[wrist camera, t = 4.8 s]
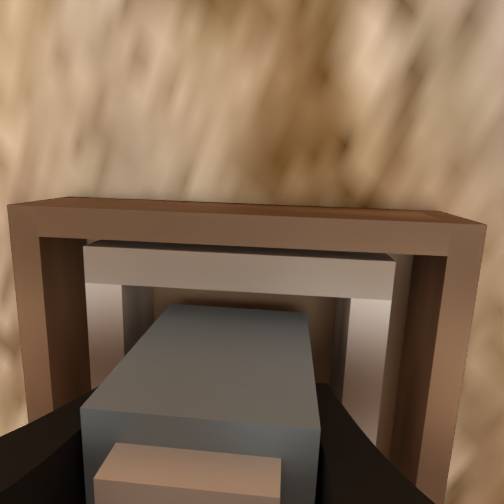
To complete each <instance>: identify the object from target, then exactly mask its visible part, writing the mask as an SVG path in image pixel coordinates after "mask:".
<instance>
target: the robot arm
mask: <svg viewBox="0 0 504 504" xmlns="http://www.w3.org/2000/svg"><path fill="white" fill-rule="evenodd" d="M315 386H316V394H317V402H318V411H319V419H320V427H321V432H320V445H319V457H318V469H317V481H316V494H315V504H435V503H434V502H433V501H432V500H431V499H429V498H428V497H427V496H426V495H425V494H424V493H422V492H421V491H420V490H419V489H418V488H417V487H416V486H415V485H414V484H413V483H412V482H410V481H409V480H408V479H407V478H406V477H405V476H404V475H403V474H402V473H401V472H400V471H399V470H398V469H397V468H396V467H395V466H394V465H393V464H391V462H390V461H389V460H388V459H387V458H386V457H385V456H384V455H383V454H382V453H381V452H380V451H379V450H378V448H377V447H376V446H375V445H374V444H373V443H372V442H371V440H370V439H369V438H368V437H367V436H366V434H365V433H364V432H363V431H362V429H361V428H360V427H359V426H358V424H357V423H356V422H355V421H354V419H353V418H352V417H351V415H350V414H349V413H348V411H347V410H346V409H345V407H344V406H343V404H342V403H341V402H340V400H339V399H338V397H337V396H336V394H335V393H334V391H333V390H332V388H331V387H330V386H329V385H328V384H327V383H315ZM98 387H99V386H97V387H96V388H94V389H92V390H90V391H89V392H87V393H85V394H83V395H82V396H80V397H78V398H76V399H75V400H73V401H71V402H69V403H67V404H66V405H64V406H62V407H60V408H58V409H56V410H54V411H52V412H50V413H48V414H46V415H44V416H42V417H40V418H39V419H37V420H35V421H33V422H31V423H29V424H27V425H25V426H23V427H21V428H19V429H16V430H14V431H12V432H10V433H8V434H5V435H3V436H1V437H0V504H86V494H85V478H84V462H83V447H82V431H81V415H80V407H81V406H82V405H83V404H84V403H85V402H86V400H87V399H88V398H89V397H90V396H91V395H92V394H93V392H94V391H95V390H96V389H97V388H98Z"/></svg>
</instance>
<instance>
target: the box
mask: <svg viewBox="0 0 504 504" xmlns="http://www.w3.org/2000/svg"><path fill="white" fill-rule="evenodd" d="M7 210H8V220H9V230H10V240H11V250H12V260H13V270H14V280H15V291H16V301H17V311H18V321H19V331H20V341H21V351H22V361H23V372H24V382H25V392H26V402H27V412H28V422H29V423H31V422H33V421H35V420H37V419H39V418H40V417H42V416H44V415H46V414H48V413H50V412H52V411H54V410H56V409H58V408H60V407H62V406H64V405H66V404H67V403H69V402H71V401H73V400H75V399H76V398H78V397H80V396H82V395H83V394H85V393H87V392H89V391H90V390H92V389H94V388H96V387H97V386H99V385H100V384H101V383H102V382H103V381H104V380H105V379H106V377H107V376H108V375H109V374H110V373H111V372H112V371H113V369H114V368H115V367H116V366H117V365H118V364H119V362H120V361H121V360H122V359H123V358H124V357H125V356H126V354H127V353H128V352H129V351H130V350H131V349H132V347H133V346H134V345H135V344H136V343H137V342H138V341H139V339H140V338H141V337H142V336H143V335H144V334H145V332H146V331H147V330H148V329H149V328H150V327H151V326H152V324H153V323H154V322H155V321H156V320H157V319H158V317H159V316H160V315H161V314H162V313H163V312H164V311H165V309H166V308H167V307H168V306H169V305H170V304H181V305H197V306H212V307H227V308H242V309H257V310H273V311H288V312H303V313H307V319H308V328H309V336H310V344H311V353H312V361H313V369H314V377H315V383H327V384H328V385H329V386H330V387H331V388H332V390H333V391H334V393H335V394H336V396H337V397H338V399H339V400H340V402H341V403H342V404H343V406H344V407H345V409H346V410H347V411H348V413H349V414H350V415H351V417H352V418H353V419H354V421H355V422H356V423H357V424H358V426H359V427H360V428H361V429H362V431H363V432H364V433H365V434H366V436H367V437H368V438H369V439H370V440H371V442H372V443H373V444H374V445H375V446H376V447H377V448H378V450H379V451H380V452H381V453H382V454H383V455H384V456H385V457H386V458H387V459H388V460H389V461H390V462H391V464H393V465H394V466H395V467H396V468H397V469H398V470H399V471H400V472H401V473H402V474H403V475H404V476H405V477H406V478H407V479H408V480H409V481H410V482H412V483H413V484H414V485H415V486H416V487H417V488H418V489H419V490H420V491H421V492H422V493H424V494H425V495H426V496H427V497H428V498H429V499H431V500H432V501H433V502H434V503H435V504H444V497H445V491H446V485H447V478H448V472H449V465H450V459H451V453H452V446H453V440H454V434H455V427H456V421H457V414H458V408H459V402H460V395H461V389H462V383H463V376H464V370H465V363H466V357H467V351H468V344H469V338H470V332H471V325H472V319H473V313H474V306H475V300H476V293H477V287H478V281H479V274H480V268H481V262H482V255H483V249H484V242H485V236H486V230H487V225H486V224H482V223H479V222H476V221H472V220H469V219H465V218H462V217H458V216H455V215H451V214H448V213H444V212H441V211H420V210H395V209H369V208H344V207H318V206H293V205H267V204H242V203H217V202H191V201H166V200H140V199H115V198H89V197H63V198H55V199H48V200H40V201H33V202H25V203H18V204H10V205H7Z"/></svg>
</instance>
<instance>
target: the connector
mask: <svg viewBox="0 0 504 504" xmlns="http://www.w3.org/2000/svg"><path fill="white" fill-rule="evenodd" d="M80 415H81V431H82V447H83V462H84V478H85V494H86V504H315V494H316V481H317V469H318V457H319V445H320V432H321V427H320V419H319V411H318V402H317V394H316V386H315V377H314V369H313V361H312V353H311V344H310V336H309V328H308V319H307V313H303V312H288V311H273V310H257V309H242V308H227V307H212V306H197V305H181V304H170V305H169V306H168V307H167V308H166V309H165V311H164V312H163V313H162V314H161V315H160V316H159V317H158V319H157V320H156V321H155V322H154V323H153V324H152V326H151V327H150V328H149V329H148V330H147V331H146V332H145V334H144V335H143V336H142V337H141V338H140V339H139V341H138V342H137V343H136V344H135V345H134V346H133V347H132V349H131V350H130V351H129V352H128V353H127V354H126V356H125V357H124V358H123V359H122V360H121V361H120V362H119V364H118V365H117V366H116V367H115V368H114V369H113V371H112V372H111V373H110V374H109V375H108V376H107V377H106V379H105V380H104V381H103V382H102V383H101V384H100V385H99V387H98V388H97V389H96V390H95V391H94V392H93V394H92V395H91V396H90V397H89V398H88V399H87V400H86V402H85V403H84V404H83V405H82V406H81V407H80Z"/></svg>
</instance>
